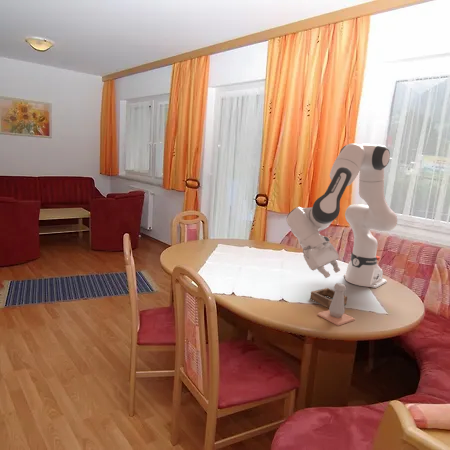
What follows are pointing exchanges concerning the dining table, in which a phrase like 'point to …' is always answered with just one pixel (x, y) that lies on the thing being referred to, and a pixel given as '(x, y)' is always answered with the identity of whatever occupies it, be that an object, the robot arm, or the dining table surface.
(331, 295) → the box
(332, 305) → the salt shaker
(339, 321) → the terracotta tile
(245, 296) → the dining table surface
